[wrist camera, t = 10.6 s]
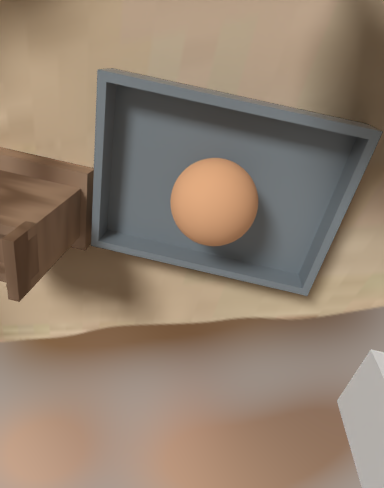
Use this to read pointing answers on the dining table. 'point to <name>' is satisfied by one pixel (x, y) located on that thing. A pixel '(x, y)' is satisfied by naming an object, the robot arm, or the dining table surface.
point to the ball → (214, 202)
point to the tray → (231, 148)
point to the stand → (40, 216)
